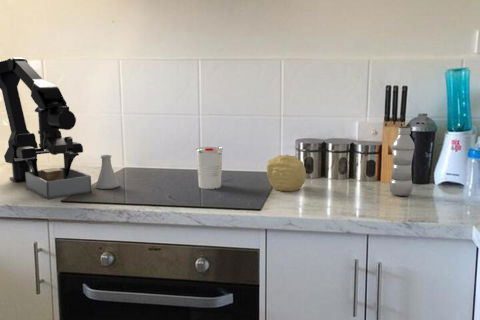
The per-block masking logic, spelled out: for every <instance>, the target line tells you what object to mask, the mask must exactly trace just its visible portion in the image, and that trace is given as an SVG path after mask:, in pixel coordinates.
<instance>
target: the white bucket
mask: <svg viewBox="0 0 480 320" xmlns="http://www.w3.org/2000/svg"><path fill="white" fill-rule="evenodd" d="M223 150H224V148H222V147H219V146H199V147H197V148H195V151H196V166H197V167H196V168H197V179H198V188H200V189H203V190H216V189H220V188H221V187H222V174H223V173H222V172H223V171H222V170H223V167H222V166H223ZM215 188H216V189H215Z"/></svg>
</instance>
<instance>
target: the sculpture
mask: <svg viewBox="0 0 480 320" xmlns="http://www.w3.org/2000/svg"><path fill="white" fill-rule="evenodd" d="M266 177H267V178H268V181H269V183H270V186H272V188H273V189H274V190H277V191H278V192H295V191H298V190H300V189H301V188H302V187H303V186H304V184H305V181H306V179H307V178H306V177H307V172H306V168H305V165H304V162H303V161H302V160H300V159H299V158H298V157H297V156H296V155H289V154H283V155H282V154H279V155H277V156H275V157H273V158H270V159H268V160H267V163H266Z"/></svg>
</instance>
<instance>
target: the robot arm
mask: <svg viewBox="0 0 480 320" xmlns="http://www.w3.org/2000/svg"><path fill="white" fill-rule="evenodd" d="M20 80H21V81H22V82H23V84H25V86H26V87H27V88H28V89H29V90H30V97H31V99H32V100H33V101H34V103H35V104H36V105H37V107H36V108H35V109H34V112H35V113H37V114H38V115H37V117H38V130H37V134H39V144H38V143H37V139H36V134H35V133H34V132H30V131H29V130H28V127H27V124H26V119H25V115H24V110H23V107H22V106H23V105H22V102H21V98H20V97H21V96H20V94H19V87H18V86H19V85H20V84H19V83H20ZM0 90H1V94H2V99H3V102H4V106H5V111H6V115H7V120H8V124H9V129H10V135H9V138H8V141H7V143H8V144H7V145H8V147H7V149H6V152H5V154H4V156H3V157H4V161H5V162H4V163H7V164H11V168H12V176H11V177H9V180H11V181H13V182H15V183H17V182H18V183H19V182H26V176H25V172H33V174H34V175H35V176H37V177H38V171H39V170H38V169H39V168H38V155H44V154H45V155H46V154H51V155H52V156H56V155H59V154H60V155H61V154H62V155H63V166H64V167H63V168H64V169H65V175H66V176H68V174H69V170H70V168H71V166H72V163H73V162H74V160H75V159H76V157H77V156H80V153H84V146H83V145H82V143H80V142H78V141H77V142H76V141H73V140H74V139H73V137H72V136H65V137H63V136H62V132H61V130H65V131H69V130H72V129H73V128H74V127H75V125H76V124H77V123H76V122H77V118H76V116H75V114H74V112H73V111H71V110H70V107H69V106H68V104H67V101H66V99H65V98H64V96H63V94H62V92H61V90H60V88H59V87H58V86H57V85H55V84H54V83H52V82H50V81H46V80H45V79H43V78H42V76H41V75H39V74H38V72H37V71H36V70H35V69H34V68H33V67H32V66H31V65H30V64H29V63H28V60H27V58H24V57H11V58H8V59H6V60H1V61H0Z"/></svg>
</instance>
